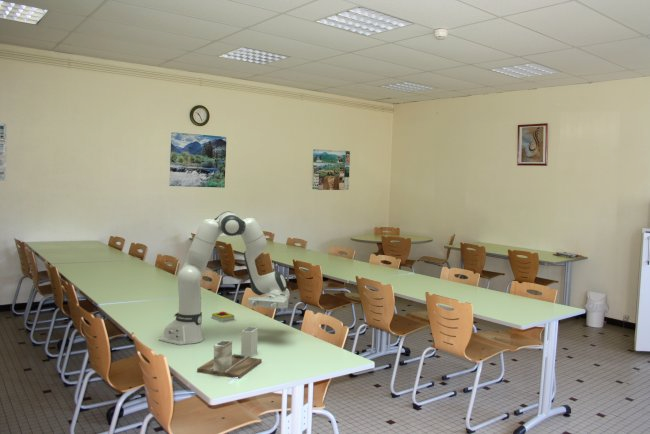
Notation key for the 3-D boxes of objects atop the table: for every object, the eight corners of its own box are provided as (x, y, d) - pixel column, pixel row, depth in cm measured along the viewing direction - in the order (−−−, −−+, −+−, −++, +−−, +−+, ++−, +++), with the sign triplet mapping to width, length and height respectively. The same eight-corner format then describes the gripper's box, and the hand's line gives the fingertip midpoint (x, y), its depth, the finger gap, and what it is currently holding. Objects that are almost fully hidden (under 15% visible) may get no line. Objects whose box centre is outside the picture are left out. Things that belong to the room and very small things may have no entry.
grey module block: (241, 356, 253) (241, 330, 252) (247, 351, 259) (248, 326, 258) (250, 357, 251) (251, 331, 250) (257, 353, 258) (257, 327, 257)
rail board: (197, 371, 230) (197, 342, 229) (222, 356, 251) (222, 329, 250) (239, 378, 224) (240, 348, 223) (261, 362, 244) (262, 334, 244)
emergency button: (223, 309, 328) (237, 313, 317) (223, 316, 328) (237, 321, 317) (210, 311, 321) (223, 316, 310) (209, 318, 322) (223, 323, 311)
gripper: (254, 292, 281) (242, 297, 268) (290, 295, 275) (280, 301, 262) (254, 304, 282) (242, 310, 269) (290, 307, 276) (280, 313, 263)
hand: (261, 305), depth 265 cm, fingers open, 8 cm apart
